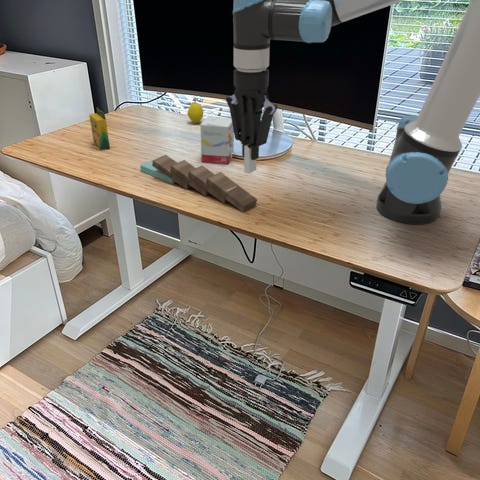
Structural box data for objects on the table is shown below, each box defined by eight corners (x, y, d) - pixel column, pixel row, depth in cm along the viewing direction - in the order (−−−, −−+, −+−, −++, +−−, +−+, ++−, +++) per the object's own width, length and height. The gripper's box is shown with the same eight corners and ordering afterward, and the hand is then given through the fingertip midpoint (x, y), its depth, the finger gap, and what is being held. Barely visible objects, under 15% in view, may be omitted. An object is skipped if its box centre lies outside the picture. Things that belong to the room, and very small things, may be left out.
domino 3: (219, 184, 128) (184, 159, 133) (206, 190, 125) (171, 165, 130) (217, 190, 130) (183, 165, 134) (205, 196, 126) (170, 171, 131)
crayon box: (93, 143, 158) (87, 108, 152) (102, 142, 159) (97, 106, 153) (101, 150, 153) (95, 114, 147) (110, 148, 154) (105, 112, 148)
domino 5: (257, 199, 121) (220, 171, 126) (244, 206, 118) (207, 177, 123) (255, 205, 122) (219, 177, 127) (242, 212, 119) (205, 183, 124)
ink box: (228, 164, 144) (228, 126, 138) (200, 162, 145) (199, 124, 139) (234, 154, 151) (234, 116, 145) (208, 152, 153) (206, 114, 146)
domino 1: (185, 171, 135) (153, 159, 142) (172, 177, 132) (140, 165, 139) (185, 178, 136) (153, 165, 143) (172, 184, 133) (140, 171, 140)
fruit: (190, 126, 173) (189, 104, 169) (186, 121, 177) (185, 99, 173) (205, 125, 174) (204, 102, 170) (201, 120, 179) (200, 98, 175)
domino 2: (200, 177, 132) (165, 154, 136) (188, 184, 128) (152, 160, 133) (199, 183, 133) (164, 160, 137) (186, 189, 130) (152, 165, 134)
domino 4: (238, 191, 125) (202, 165, 130) (225, 197, 122) (189, 171, 126) (236, 196, 126) (200, 170, 131) (223, 203, 123) (187, 176, 128)
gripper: (286, 69, 102) (281, 173, 114) (239, 61, 109) (239, 159, 121) (264, 76, 97) (262, 183, 109) (216, 66, 104) (219, 168, 117)
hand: (250, 170), depth 115 cm, fingers closed
